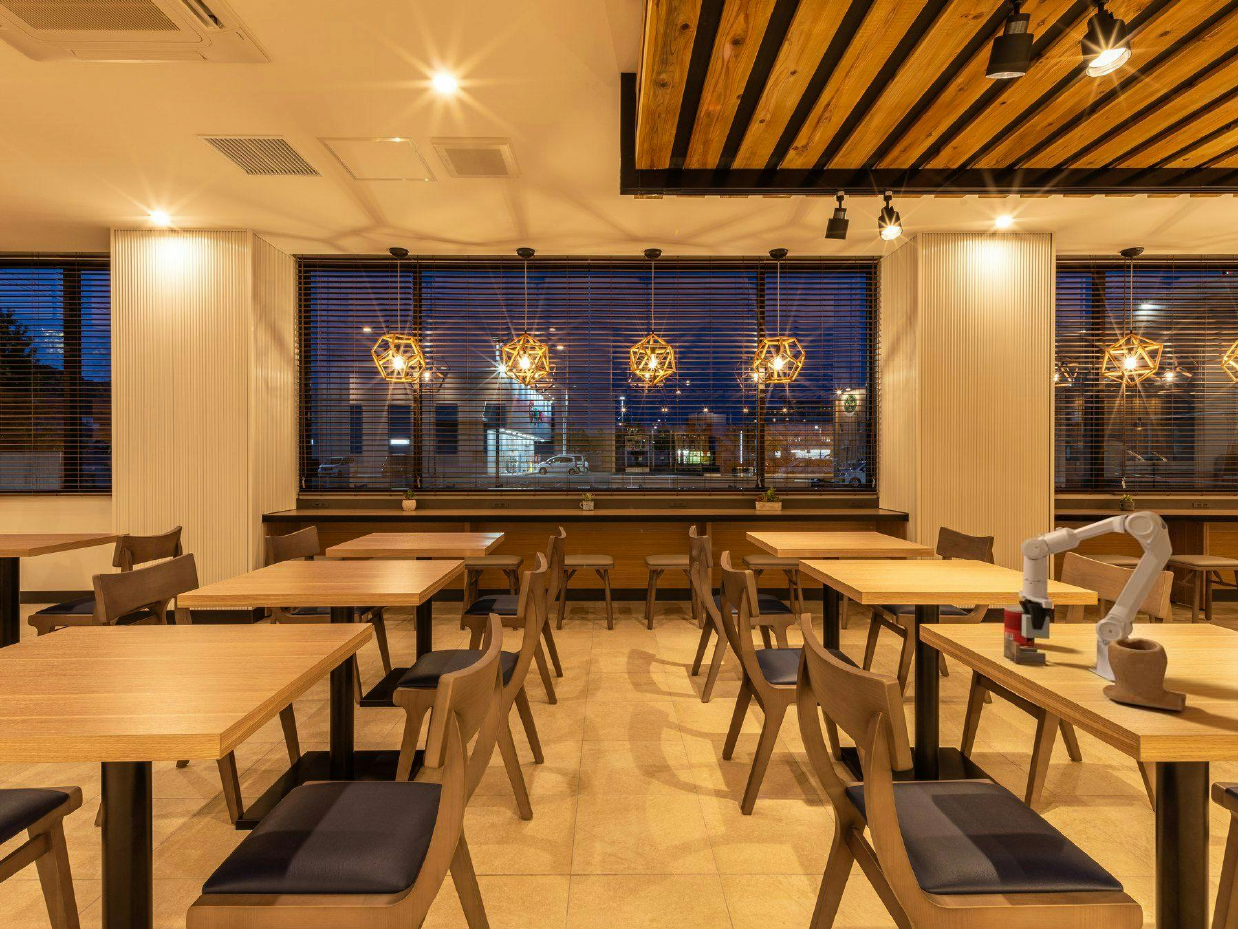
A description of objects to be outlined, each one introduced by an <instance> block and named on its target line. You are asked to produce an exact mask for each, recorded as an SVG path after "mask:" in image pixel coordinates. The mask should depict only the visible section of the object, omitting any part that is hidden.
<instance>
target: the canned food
mask: <svg viewBox="0 0 1238 929" xmlns="http://www.w3.org/2000/svg"><path fill="white" fill-rule="evenodd" d="M1003 612H1004V613H1003V619H1004V620H1003V638H1004V637H1008V638H1010V639H1012V640H1013V641H1015V642H1017V643H1019V644H1020V647H1021V646H1032V647H1034V646H1035V643H1036V642H1035V640H1036V638H1026V637H1024V636H1022V614H1024V611H1023V609H1022V607H1021V605H1005V606H1004V609H1003ZM1033 645H1034V646H1033Z"/></svg>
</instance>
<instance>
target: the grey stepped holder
mask: <svg viewBox="0 0 1238 929" xmlns="http://www.w3.org/2000/svg"><path fill="white" fill-rule="evenodd" d="M1046 654H1047V653H1045V652H1038V648H1036V647H1035V648H1034V647H1033V648H1032V647H1021V646H1020V644H1019V643H1017V642H1015V641H1013V640H1012V639H1010V638H1008V637H1004V636H1003V657H1004V658H1006V659H1008V660H1009V659H1010V660H1009V661H1011V662H1012V661H1013V663H1014V664H1015V665H1026V664H1032V665H1031V666H1044V665H1047V666H1048V663H1047V662H1046V656H1047V655H1046Z"/></svg>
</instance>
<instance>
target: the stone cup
mask: <svg viewBox="0 0 1238 929" xmlns="http://www.w3.org/2000/svg"><path fill="white" fill-rule="evenodd" d="M1108 660H1109V664H1110V667H1111V669H1112V672H1113V674H1114V677H1115V682H1114V684H1107V685H1105V686H1104V687H1103V688H1102V693H1103V695H1104V696H1106V697H1107V698H1109V699H1110V700H1112V701H1116V702H1119V703H1120V702H1121V703H1124V704H1131V705H1138V706H1143V707H1149V708H1156V709H1161V710H1162V709H1163V710H1168V711H1169V710H1170V711H1175V712H1176V711H1177V712H1182V711H1183V709H1184V708H1185V706H1186V703H1187V702H1186V701H1187V700H1186V699H1187V694H1186V693H1181V692H1175V691H1170V690H1166V689H1165V688H1164V687H1163V686H1164V680H1165V675H1166V671H1167V667H1168V655H1167V652H1166V650H1165V648H1164V646H1163V644H1161V643H1159V642H1157V641H1155V640H1152V639H1148V638H1144V637H1143V638H1142V637H1132V638H1129V639H1125V638H1118V639H1114V640H1112V641H1111V642H1110V643H1109V644H1108Z"/></svg>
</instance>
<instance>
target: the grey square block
mask: <svg viewBox="0 0 1238 929" xmlns="http://www.w3.org/2000/svg"><path fill="white" fill-rule="evenodd" d="M1050 623H1051V622H1050V617H1049V616H1047V617H1046V619H1045V622H1044V625H1043V628H1042V630H1035V629H1033V627H1032V621H1031V615H1025V614H1022V636H1024V637H1026V638H1035V639H1044V640H1049V639H1050V626H1051V625H1050Z"/></svg>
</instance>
